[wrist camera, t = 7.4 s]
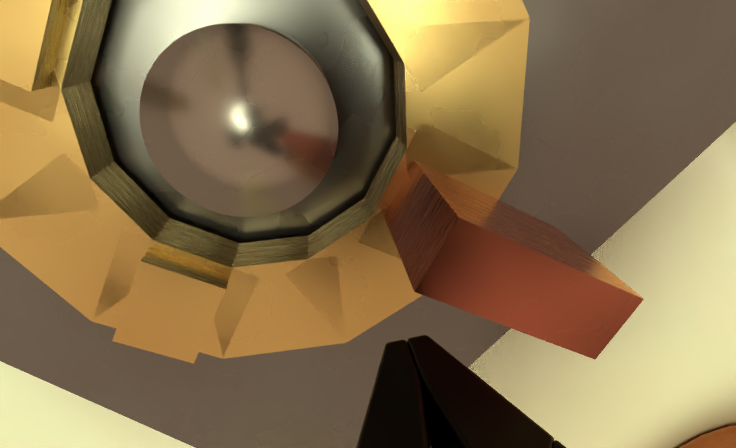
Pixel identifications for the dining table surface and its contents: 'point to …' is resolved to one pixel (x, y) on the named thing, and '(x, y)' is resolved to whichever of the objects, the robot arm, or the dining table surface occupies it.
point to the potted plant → (715, 439)
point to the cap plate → (351, 179)
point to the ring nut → (327, 244)
